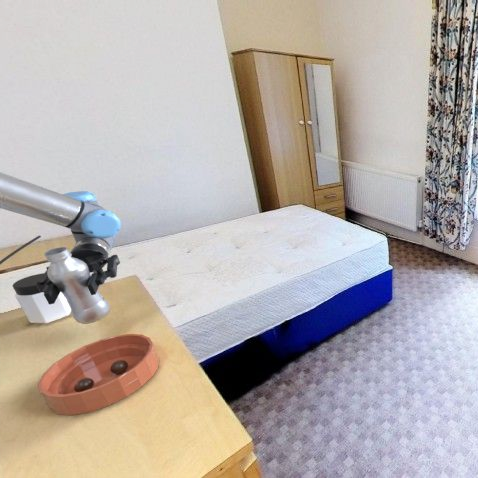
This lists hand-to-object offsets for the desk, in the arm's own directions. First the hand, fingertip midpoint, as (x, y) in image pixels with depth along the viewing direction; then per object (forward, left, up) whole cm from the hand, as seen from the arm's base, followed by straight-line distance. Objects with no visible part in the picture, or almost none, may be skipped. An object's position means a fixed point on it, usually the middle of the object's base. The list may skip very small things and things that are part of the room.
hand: (70, 294), depth 73 cm
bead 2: (+12, +3, -15) cm, 20 cm away
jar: (-31, -6, -18) cm, 36 cm away
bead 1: (+12, -5, -16) cm, 21 cm away
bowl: (+12, 0, -18) cm, 22 cm away
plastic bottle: (-6, +2, -11) cm, 12 cm away
